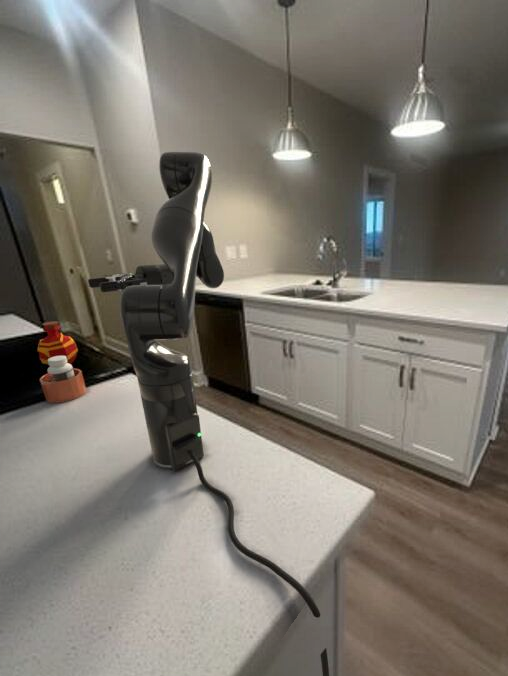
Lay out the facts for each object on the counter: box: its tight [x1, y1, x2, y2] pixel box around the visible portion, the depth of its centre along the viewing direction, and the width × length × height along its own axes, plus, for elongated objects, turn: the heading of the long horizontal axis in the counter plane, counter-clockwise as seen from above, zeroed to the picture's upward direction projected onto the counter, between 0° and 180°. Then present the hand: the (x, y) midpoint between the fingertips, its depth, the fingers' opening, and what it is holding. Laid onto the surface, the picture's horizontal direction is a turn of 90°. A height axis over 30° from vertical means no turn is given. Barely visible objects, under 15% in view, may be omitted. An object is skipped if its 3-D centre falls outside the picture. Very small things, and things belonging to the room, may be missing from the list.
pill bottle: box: [47, 356, 75, 382], centre depth 90 cm, size 5×5×10 cm
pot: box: [39, 367, 87, 403], centre depth 91 cm, size 9×9×6 cm
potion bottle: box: [36, 320, 79, 368], centre depth 104 cm, size 10×10×15 cm
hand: (94, 285), depth 85 cm, fingers open, 8 cm apart
